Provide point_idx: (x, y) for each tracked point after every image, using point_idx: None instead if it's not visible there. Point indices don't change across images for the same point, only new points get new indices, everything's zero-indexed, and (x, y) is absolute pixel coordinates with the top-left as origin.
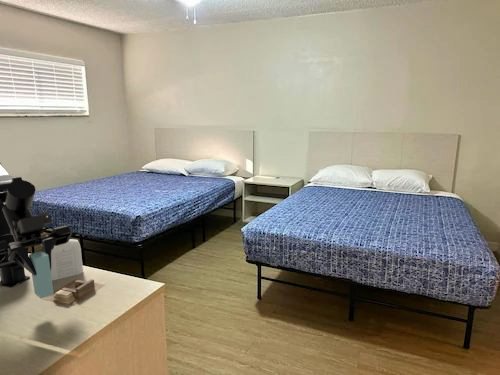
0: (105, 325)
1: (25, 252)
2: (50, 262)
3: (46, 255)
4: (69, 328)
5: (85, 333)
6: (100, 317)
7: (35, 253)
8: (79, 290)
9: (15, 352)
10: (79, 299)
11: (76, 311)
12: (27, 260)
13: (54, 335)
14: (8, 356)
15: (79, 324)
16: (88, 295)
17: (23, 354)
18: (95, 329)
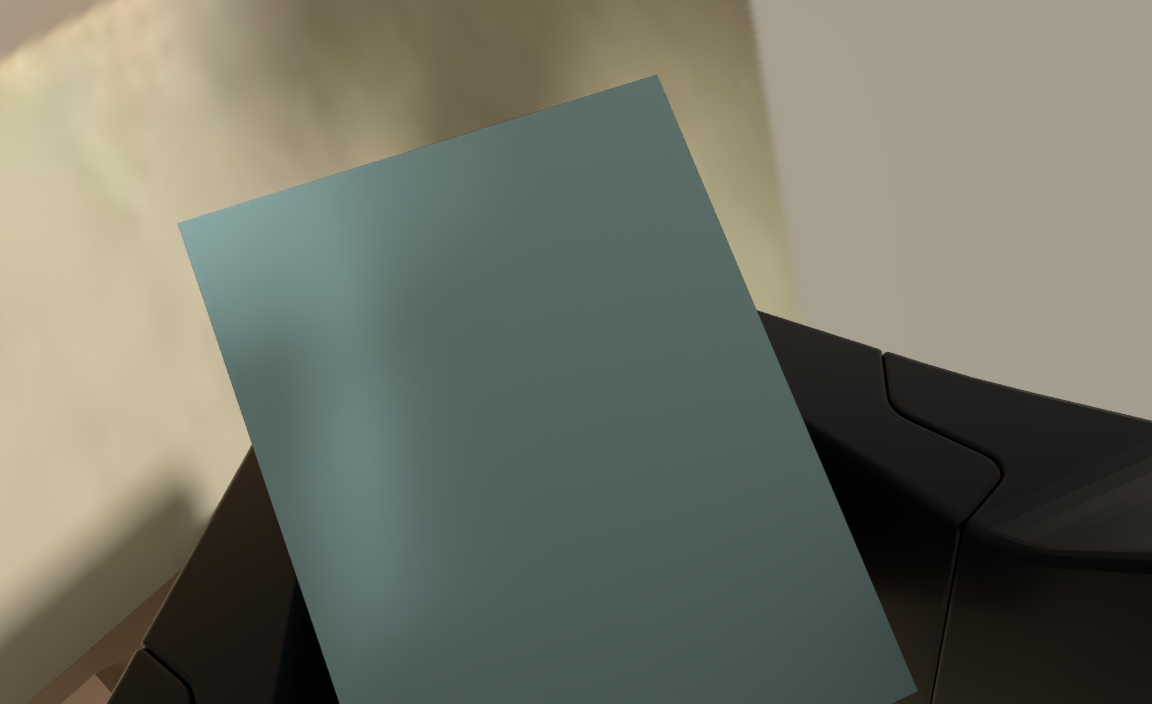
0: (14, 54)
1: (1117, 531)
2: (252, 468)
3: (250, 210)
4: (314, 172)
5: (197, 28)
6: (26, 209)
7: (679, 696)
8: (92, 682)
9: (695, 62)
10: None
11: (225, 445)
12: (875, 384)
13: (435, 132)
14: (734, 40)
15: (227, 191)
16: (41, 698)
17: (641, 8)
18: (109, 41)
